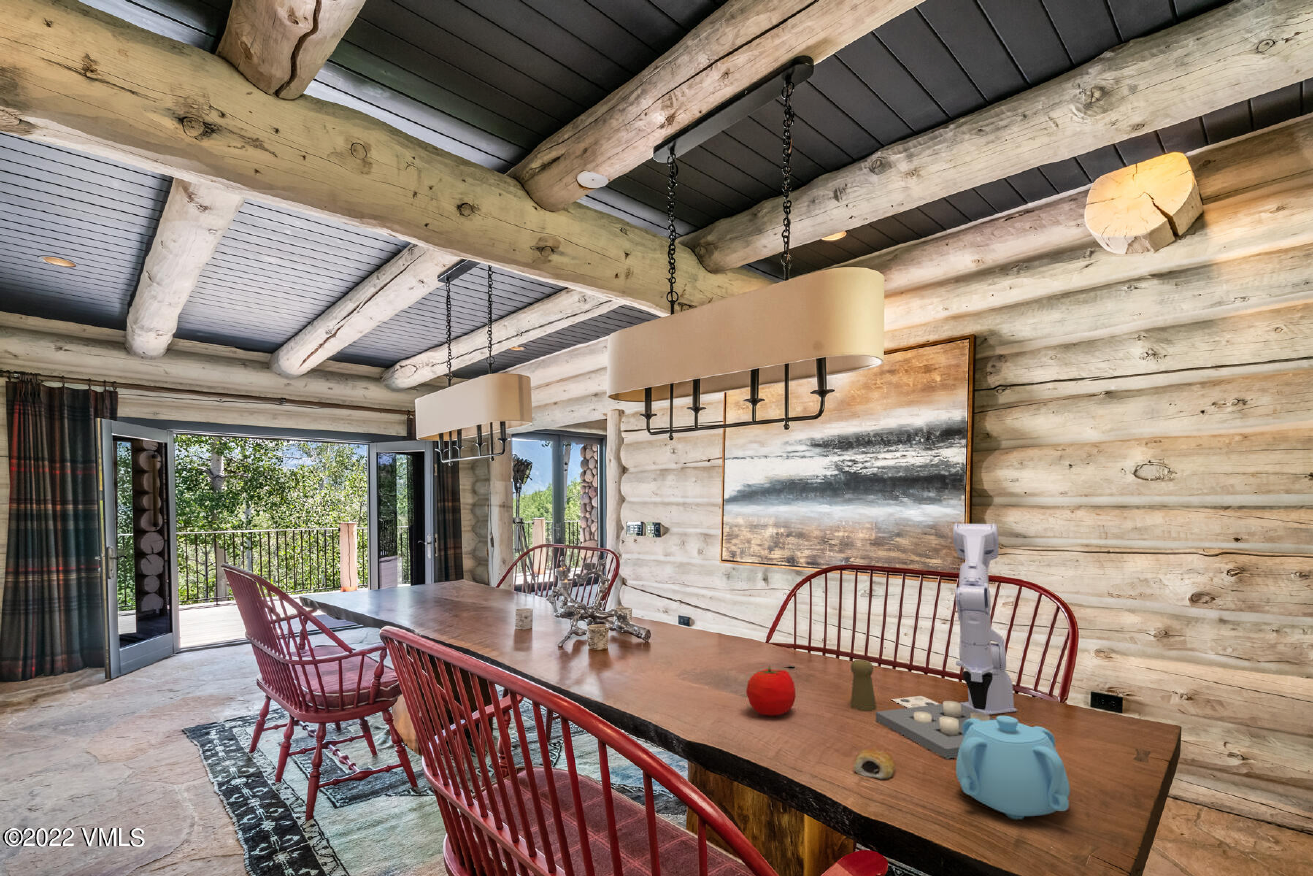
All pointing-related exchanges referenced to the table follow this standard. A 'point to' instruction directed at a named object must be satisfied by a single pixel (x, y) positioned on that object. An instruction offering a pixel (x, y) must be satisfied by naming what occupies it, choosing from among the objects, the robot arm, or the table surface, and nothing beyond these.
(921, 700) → the card
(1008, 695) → the robot arm
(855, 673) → the olive pawn figure
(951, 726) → the button
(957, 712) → the button
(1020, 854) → the table surface
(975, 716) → the button
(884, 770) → the pastry
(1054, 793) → the decorative pot
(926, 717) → the button
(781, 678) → the tomato
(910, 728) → the board
